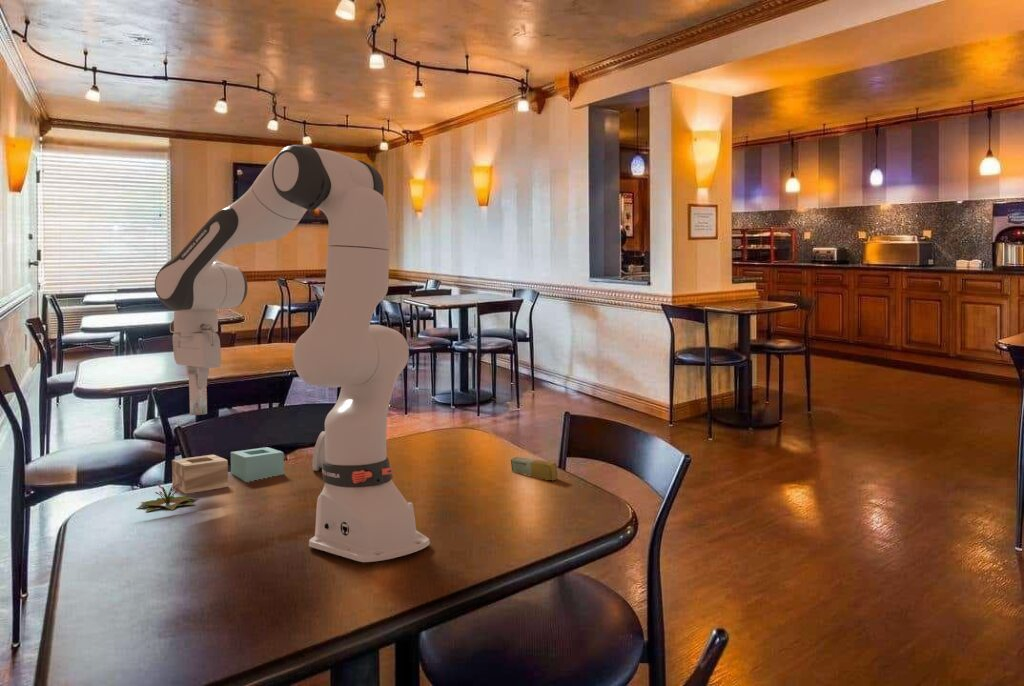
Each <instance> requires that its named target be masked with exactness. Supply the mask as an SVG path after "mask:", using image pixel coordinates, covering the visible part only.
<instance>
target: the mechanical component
mask: <svg viewBox="0 0 1024 686" xmlns="http://www.w3.org/2000/svg"><path fill="white" fill-rule="evenodd" d="M315 442H316V443H315V445H314V449H313V454H312V463H311V464H312V465H311V466H312V471H313V470H314V472H315V471H316V472H317V471H320V469H322V468H323V462H324V461H325V430H324V431H321V432H320V433H319V435H318V437H317V439H316V441H315Z"/></svg>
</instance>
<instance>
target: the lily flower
mask: <svg viewBox="0 0 1024 686" xmlns="http://www.w3.org/2000/svg"><path fill="white" fill-rule="evenodd" d="M174 484H175V483H173V482H172V485H171V487H170V486H168V488H167V489H165V488H164V486H161V485H160V484H157V486H158V487H159V488H160V489H161V490H162V491H159V492H158V491H155V494H157V495H158V496H160V497H157V498H156V499H152V500H148V501H147V500H146V501H142V502H141V501H140V503H141V505H139V507H136V508H135V509H140V508H145V507H146V511H145V512H146V513H147V512H150V511H151V512H152V511H155V510H156V509H157V506H160V507H161V506H163V509H169V510H171V511H174V510H175V509H176V507H178V506H196V504H195V503H194V502H193V501H197V500H198V498H194V497H191V496H188V495H184V496H183V495H182V496H174V495H175V494H177V493H178V492H179V490H178V489H177V490H176V491H175V489H176V488H175V487H176V486H178V485H179V484H177V485H176V486H175V485H174ZM173 485H174V486H175V487H174V486H173ZM169 487H170V489H169ZM168 489H169V490H168ZM171 503H172V504H171ZM164 504H165V505H164ZM179 504H181V505H179Z"/></svg>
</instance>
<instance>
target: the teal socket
mask: <svg viewBox="0 0 1024 686" xmlns="http://www.w3.org/2000/svg"><path fill="white" fill-rule="evenodd" d="M284 459H285V458H284V452H283V451H281V450H278V449H275V448H272V447H267V446H266V447H259V448H251V449H245V450H244V449H242V450H236V451H230V474H232V475H233V476H235V477H236V478H238V479H239V480H240V481H241V480H242V481H243V482H245V483H246V482H248V483H250V482H249V481H252V482H255V481H254V480H257V481H259V480H258V479H261V480H264V479H263V478H265V479H268V477H270V478H273V477H272V476H274V477H278V476H283V475H284V474H285V468H284V467H285V465H284Z"/></svg>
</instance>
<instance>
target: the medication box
mask: <svg viewBox="0 0 1024 686" xmlns="http://www.w3.org/2000/svg"><path fill="white" fill-rule="evenodd" d="M510 465H511V466H510V467H511V472H512V471H513V472H512V473H515V472H517V473H516V474H519V473H521V474H520V475H523V474H526V475H530V476H534V477H538V478H542V479H547V480H552V481H551V482H553V480H554V481H556V480H558V478H559V477H558V475H559V474H558V467H557V465H558V463H557V462H556V461H550V460H548V461H547V460H542V459H534V458H528V457H527V458H526V457H521V456H516V457H513V458H511V459H510ZM526 475H525V476H526ZM530 476H529V477H530ZM534 477H533V478H534ZM538 478H537V479H538ZM542 479H541V480H542ZM547 480H546V481H547Z"/></svg>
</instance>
